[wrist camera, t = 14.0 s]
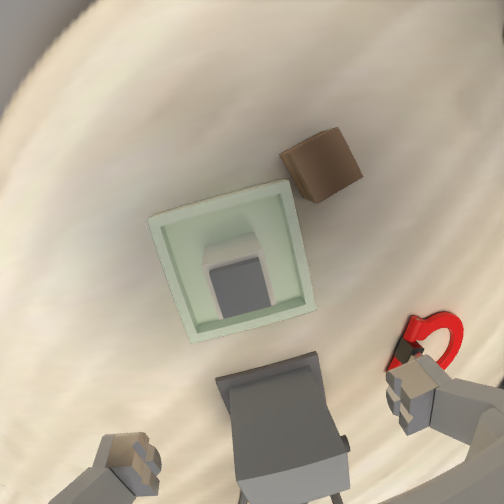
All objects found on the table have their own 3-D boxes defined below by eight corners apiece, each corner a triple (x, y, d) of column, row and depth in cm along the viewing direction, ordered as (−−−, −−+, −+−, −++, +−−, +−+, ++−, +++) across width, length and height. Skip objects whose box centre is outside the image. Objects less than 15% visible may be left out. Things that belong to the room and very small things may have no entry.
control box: (315, 351, 30) (360, 439, 18) (325, 406, 32) (361, 489, 21) (215, 378, 30) (218, 476, 18) (238, 430, 32) (248, 519, 20)
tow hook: (467, 313, 32) (411, 305, 30) (546, 370, 19) (502, 380, 17) (437, 376, 34) (379, 378, 32) (500, 443, 21) (443, 465, 19)
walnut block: (320, 131, 25) (338, 127, 21) (343, 174, 26) (363, 176, 22) (278, 154, 25) (289, 153, 21) (302, 197, 26) (317, 203, 22)
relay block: (254, 232, 26) (264, 252, 20) (265, 278, 27) (278, 309, 21) (204, 245, 26) (201, 269, 20) (218, 291, 27) (219, 325, 21)
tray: (283, 178, 25) (289, 180, 23) (310, 300, 28) (316, 310, 26) (152, 215, 25) (146, 219, 23) (192, 331, 28) (191, 344, 26)
